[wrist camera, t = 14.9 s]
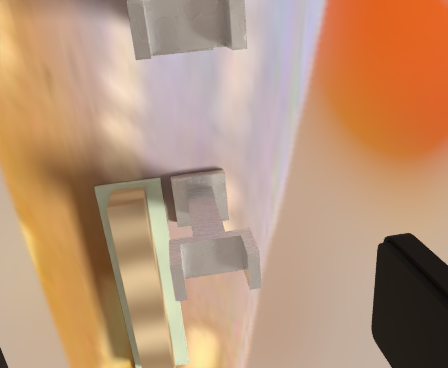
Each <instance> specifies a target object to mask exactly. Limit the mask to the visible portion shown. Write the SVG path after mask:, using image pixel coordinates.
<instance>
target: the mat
mask: <svg viewBox="0 0 448 368" xmlns="http://www.w3.org/2000/svg"><path fill="white" fill-rule="evenodd" d="M141 186H145V190H146V196H147V202H148V207H149V213H150V219H151V224H152V230H153V236H154V242H155V247H156V253H157V259H158V264H159V270H160V276H161V281H162V287H163V293H164V298H165V304H166V310H167V315H168V321H169V327H170V333H171V338H172V344H173V350H174V355H175V361H176V366H177V365H183V364H188V363H189V356H188V350H187V343H186V337H185V331H184V324H183V318H182V312H181V306H180V301H175V295H174V289H173V282H172V276H171V270H170V261H169V240H170V237H169V230H168V224H167V218H166V211H165V205H164V199H163V193H162V186H161V180H160V177H159V178H152V179H144V180H137V181H129V182H121V183H114V184H106V185H99V186H95V188H94V190H95V194H96V199H97V203H98V207H99V212H100V216H101V220H102V225H103V229H104V233H105V238H106V242H107V246H108V250H109V255H110V259H111V263H112V268H113V272H114V276H115V281H116V285H117V289H118V294H119V298H120V302H121V306H122V311H123V315H124V319H125V324H126V328H127V332H128V337H129V341H130V345H131V350H132V354H133V358H134V363H135V367H136V368H142V366H141V362H140V357H139V353H138V348H137V344H136V339H135V335H134V330H133V326H132V321H131V317H130V312H129V308H128V303H127V299H126V294H125V290H124V285H123V281H122V276H121V272H120V267H119V263H118V258H117V254H116V249H115V245H114V240H113V236H112V231H111V227H110V222H109V218H108V213H107V207H108V203H109V199H110V196H111V192H112V190H119V189H126V188H134V187H141Z"/></svg>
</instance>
